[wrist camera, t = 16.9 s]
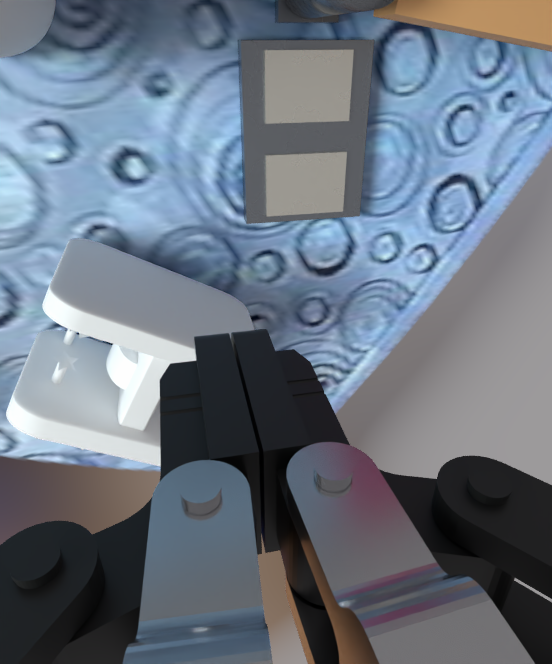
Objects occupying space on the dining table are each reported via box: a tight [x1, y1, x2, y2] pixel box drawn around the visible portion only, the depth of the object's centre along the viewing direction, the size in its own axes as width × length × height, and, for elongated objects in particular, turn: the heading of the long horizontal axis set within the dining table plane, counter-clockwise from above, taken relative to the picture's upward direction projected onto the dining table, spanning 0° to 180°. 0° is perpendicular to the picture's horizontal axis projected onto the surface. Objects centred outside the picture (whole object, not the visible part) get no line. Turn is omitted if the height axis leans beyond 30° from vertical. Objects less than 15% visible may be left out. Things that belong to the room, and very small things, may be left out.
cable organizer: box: [6, 238, 255, 466], centre depth 37 cm, size 15×11×12 cm
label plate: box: [238, 40, 374, 224], centre depth 36 cm, size 12×9×2 cm
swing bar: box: [373, 0, 552, 51], centre depth 28 cm, size 16×3×4 cm, turn 81°
